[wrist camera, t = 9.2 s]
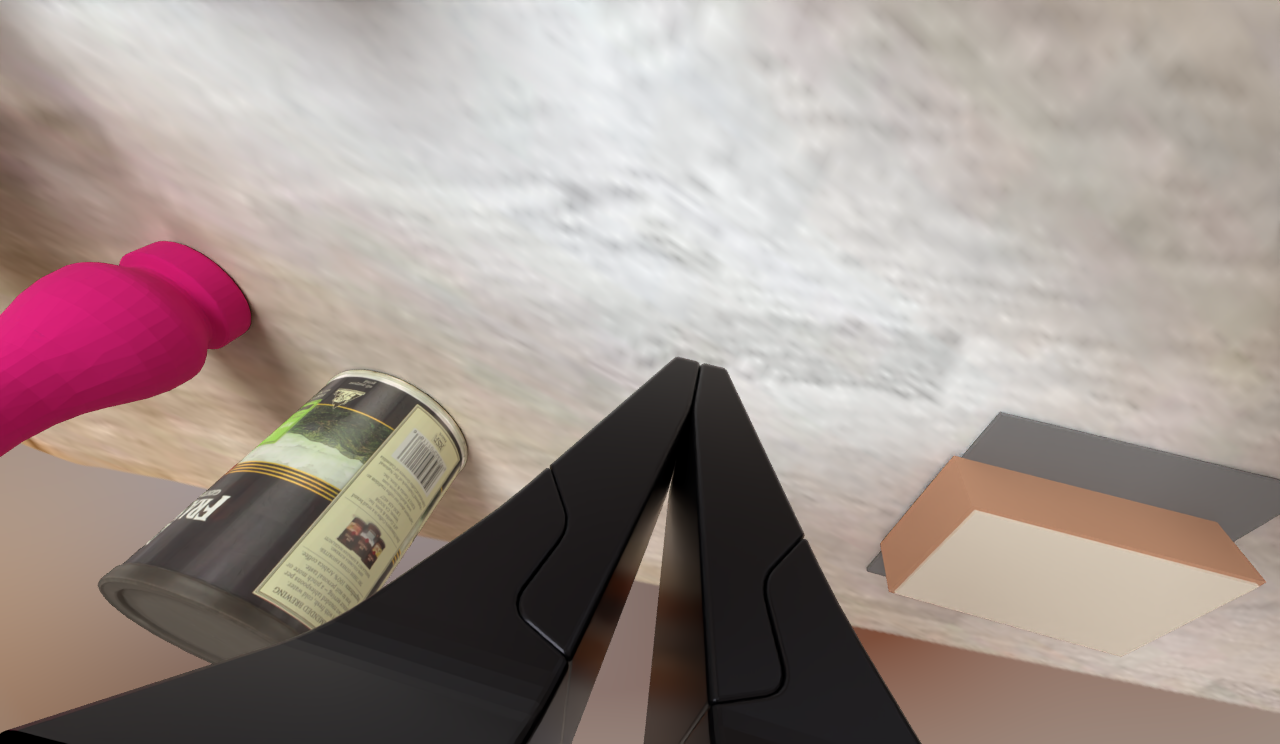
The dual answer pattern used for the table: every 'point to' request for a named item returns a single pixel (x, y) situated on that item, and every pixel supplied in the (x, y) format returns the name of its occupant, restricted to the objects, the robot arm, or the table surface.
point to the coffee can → (296, 522)
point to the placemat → (1126, 474)
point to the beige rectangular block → (1061, 558)
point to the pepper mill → (111, 335)
